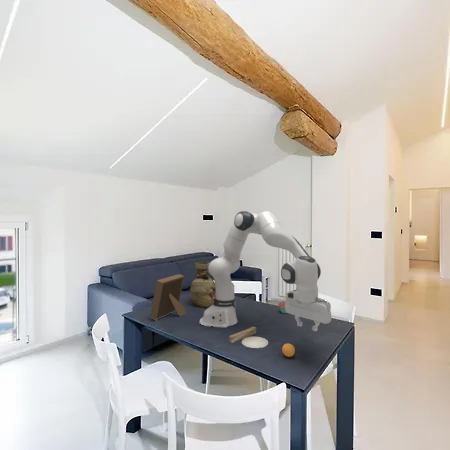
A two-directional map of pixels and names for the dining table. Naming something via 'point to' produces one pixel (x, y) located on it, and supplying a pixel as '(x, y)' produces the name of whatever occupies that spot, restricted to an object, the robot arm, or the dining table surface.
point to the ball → (288, 350)
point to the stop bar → (242, 334)
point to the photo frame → (167, 296)
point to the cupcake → (282, 306)
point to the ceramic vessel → (203, 286)
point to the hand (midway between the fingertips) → (307, 328)
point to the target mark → (254, 342)
